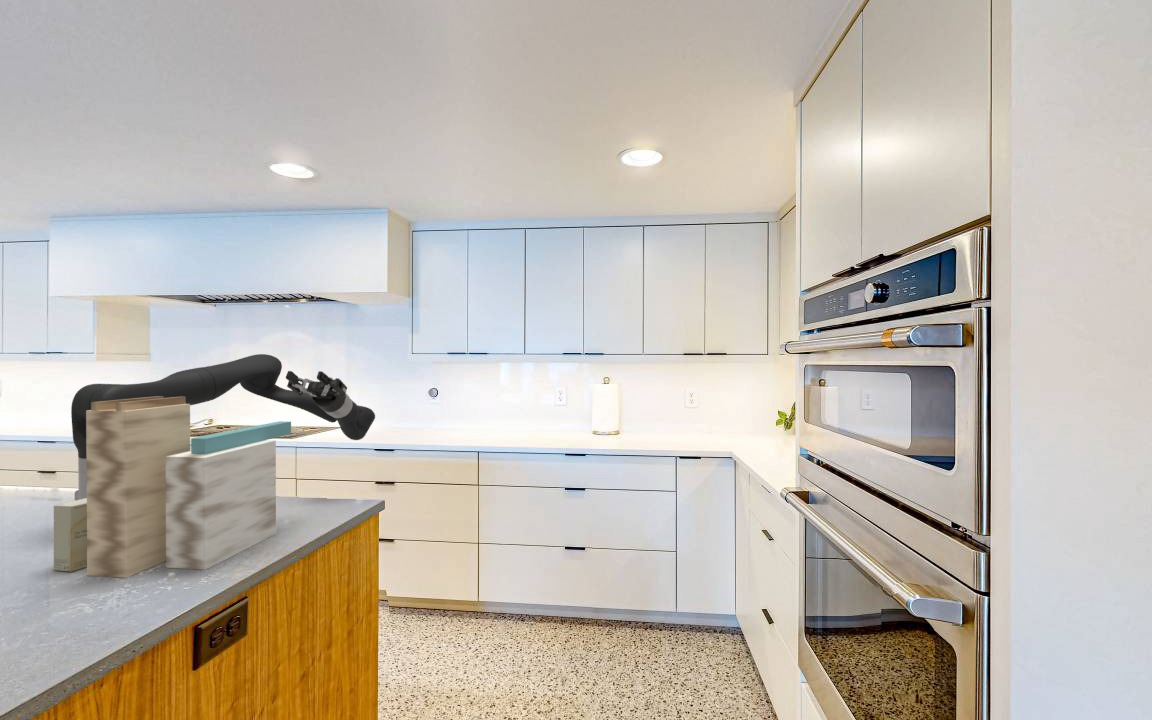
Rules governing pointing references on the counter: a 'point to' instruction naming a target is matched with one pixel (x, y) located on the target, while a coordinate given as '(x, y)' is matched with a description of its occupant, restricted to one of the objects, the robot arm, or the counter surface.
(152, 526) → the stepped wooden blocks
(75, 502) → the skincare box
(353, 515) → the counter surface
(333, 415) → the robot arm
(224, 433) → the rod
